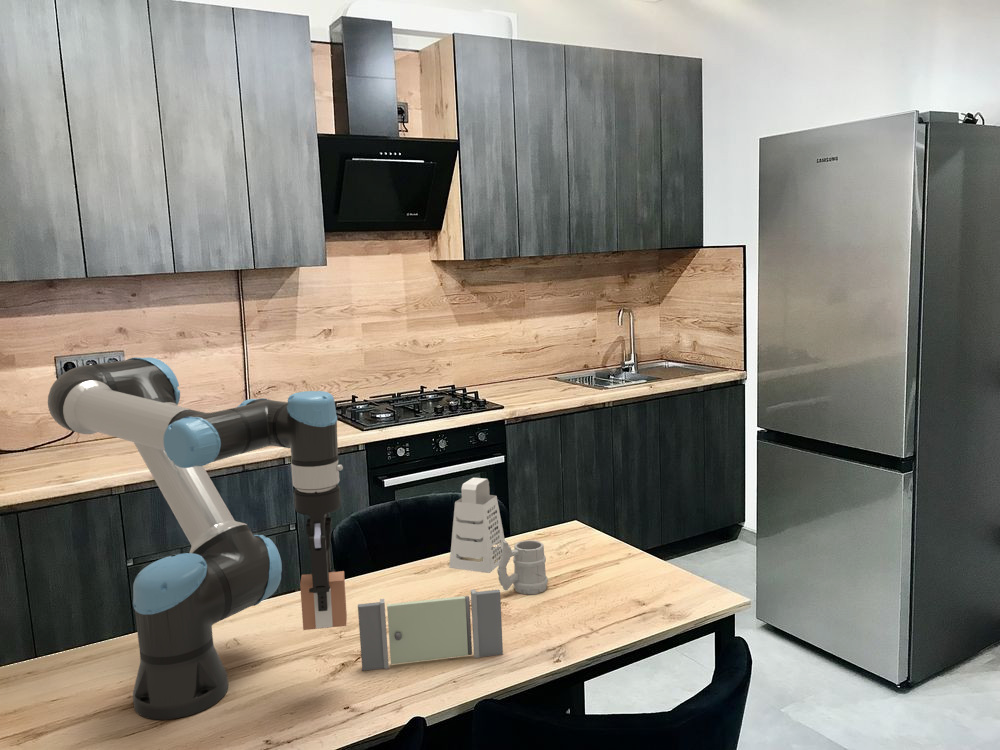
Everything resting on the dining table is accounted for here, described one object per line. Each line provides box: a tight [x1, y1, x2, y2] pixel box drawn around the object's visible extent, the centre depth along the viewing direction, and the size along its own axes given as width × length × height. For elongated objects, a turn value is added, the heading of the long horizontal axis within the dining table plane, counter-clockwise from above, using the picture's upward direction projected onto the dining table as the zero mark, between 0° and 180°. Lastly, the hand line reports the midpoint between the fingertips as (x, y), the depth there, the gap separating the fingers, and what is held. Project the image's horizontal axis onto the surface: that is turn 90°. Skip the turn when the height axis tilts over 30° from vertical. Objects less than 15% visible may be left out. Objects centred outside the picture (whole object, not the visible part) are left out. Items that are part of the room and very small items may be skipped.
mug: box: [496, 539, 549, 596], centre depth 179 cm, size 8×12×12 cm, turn 121°
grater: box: [448, 477, 505, 574], centre depth 196 cm, size 10×10×20 cm
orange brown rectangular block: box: [299, 570, 348, 631], centre depth 139 cm, size 7×4×8 cm, turn 99°
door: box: [386, 595, 473, 665], centre depth 149 cm, size 15×2×11 cm, turn 99°
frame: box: [357, 589, 504, 672], centre depth 149 cm, size 26×2×12 cm, turn 99°
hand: (324, 620), depth 139 cm, fingers closed on orange brown rectangular block, 4 cm apart
